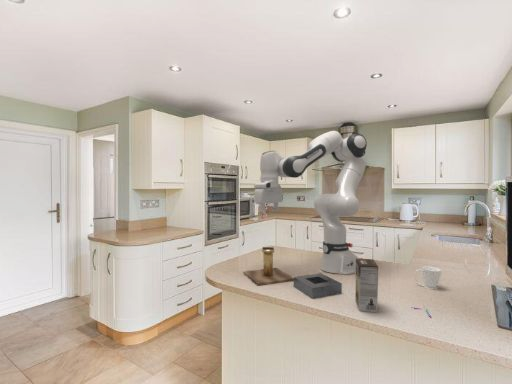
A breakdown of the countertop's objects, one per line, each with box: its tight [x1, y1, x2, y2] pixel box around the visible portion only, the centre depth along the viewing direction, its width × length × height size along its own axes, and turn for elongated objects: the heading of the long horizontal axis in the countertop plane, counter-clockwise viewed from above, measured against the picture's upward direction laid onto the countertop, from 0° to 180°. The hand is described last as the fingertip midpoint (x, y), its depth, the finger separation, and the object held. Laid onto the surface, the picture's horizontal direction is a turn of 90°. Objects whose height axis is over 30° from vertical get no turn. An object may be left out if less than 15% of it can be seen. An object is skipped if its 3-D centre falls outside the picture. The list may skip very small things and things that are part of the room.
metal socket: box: [293, 272, 343, 299], centre depth 116 cm, size 14×14×4 cm
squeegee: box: [410, 306, 433, 319], centre depth 99 cm, size 15×1×5 cm
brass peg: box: [261, 246, 275, 276], centre depth 131 cm, size 6×6×13 cm
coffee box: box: [354, 258, 379, 313], centre depth 100 cm, size 9×6×16 cm
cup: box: [413, 266, 442, 290], centre depth 120 cm, size 7×10×8 cm
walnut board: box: [243, 267, 294, 287], centre depth 131 cm, size 18×18×1 cm
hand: (269, 212), depth 137 cm, fingers open, 8 cm apart
